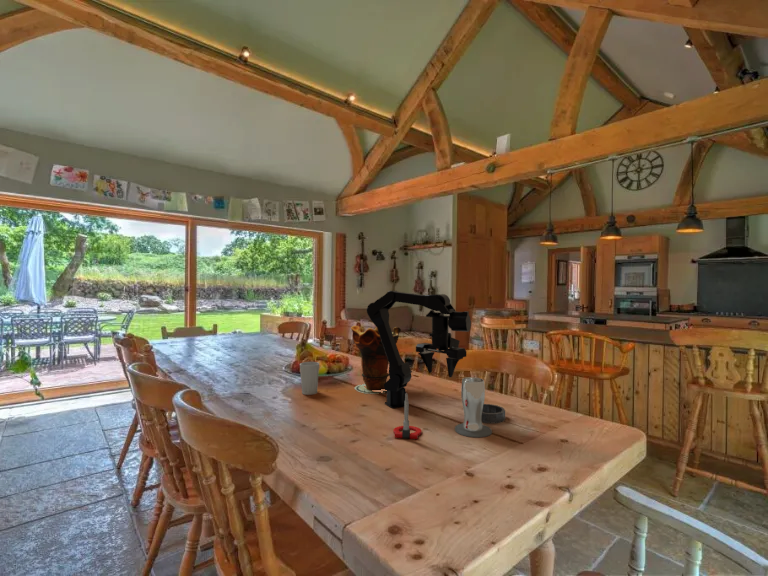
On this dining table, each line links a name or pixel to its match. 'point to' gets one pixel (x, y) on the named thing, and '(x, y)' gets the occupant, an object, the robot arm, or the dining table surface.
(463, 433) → the coaster
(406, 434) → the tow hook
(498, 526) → the dining table surface
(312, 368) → the cup
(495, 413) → the ring holder
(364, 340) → the decorative vase
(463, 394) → the beer glass
